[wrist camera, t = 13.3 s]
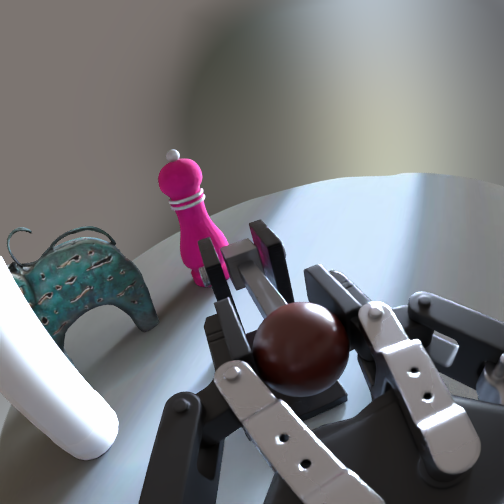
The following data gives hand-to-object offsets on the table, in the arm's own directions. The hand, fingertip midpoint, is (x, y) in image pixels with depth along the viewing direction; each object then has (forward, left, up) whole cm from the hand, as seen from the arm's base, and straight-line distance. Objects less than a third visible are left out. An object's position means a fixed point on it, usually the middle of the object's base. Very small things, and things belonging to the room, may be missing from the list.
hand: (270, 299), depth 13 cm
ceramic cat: (+28, +6, -15) cm, 33 cm away
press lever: (+1, -1, -3) cm, 3 cm away
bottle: (+17, +14, -15) cm, 27 cm away
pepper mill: (+26, -14, -15) cm, 34 cm away
